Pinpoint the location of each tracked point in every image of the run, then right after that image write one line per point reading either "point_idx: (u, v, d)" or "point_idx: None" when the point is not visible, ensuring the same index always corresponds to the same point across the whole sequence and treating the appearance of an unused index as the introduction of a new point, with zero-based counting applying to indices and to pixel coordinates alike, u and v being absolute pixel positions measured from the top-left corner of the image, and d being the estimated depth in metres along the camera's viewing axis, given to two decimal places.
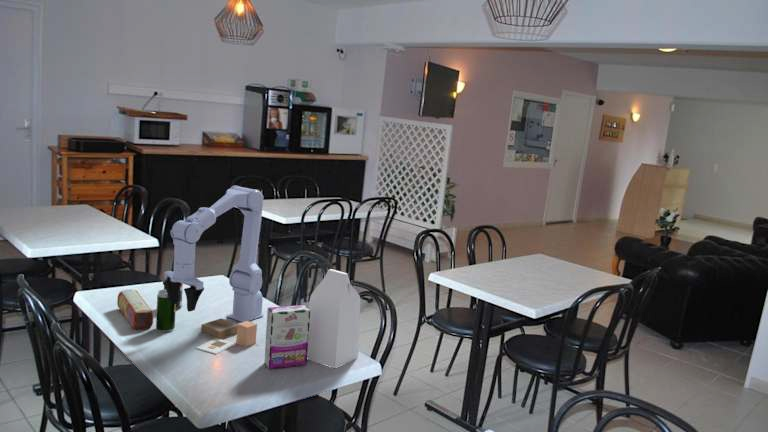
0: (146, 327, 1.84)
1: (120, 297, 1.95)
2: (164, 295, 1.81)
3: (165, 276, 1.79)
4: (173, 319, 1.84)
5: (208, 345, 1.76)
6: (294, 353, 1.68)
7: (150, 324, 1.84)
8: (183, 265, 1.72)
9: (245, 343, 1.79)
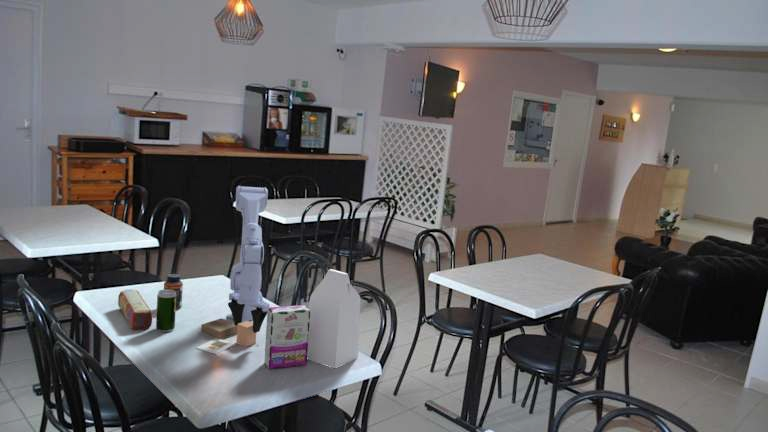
0: (145, 327, 1.84)
1: (120, 297, 1.95)
2: (164, 295, 1.81)
3: (229, 298, 1.82)
4: (173, 319, 1.84)
5: (208, 345, 1.76)
6: (294, 353, 1.68)
7: (149, 324, 1.84)
8: (250, 287, 1.76)
9: (245, 343, 1.79)
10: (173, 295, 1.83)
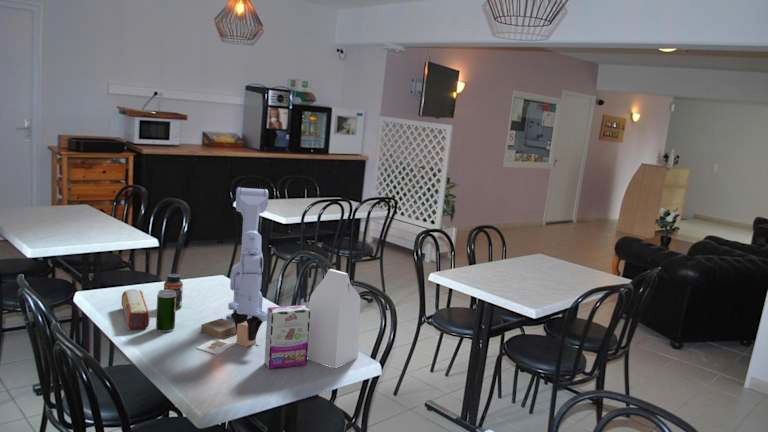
0: (141, 328, 1.83)
1: (123, 297, 1.96)
2: (164, 295, 1.81)
3: (229, 307, 1.83)
4: (173, 319, 1.84)
5: (208, 345, 1.76)
6: (294, 353, 1.68)
7: (145, 325, 1.83)
8: (249, 297, 1.76)
9: (245, 343, 1.79)
10: (173, 295, 1.83)
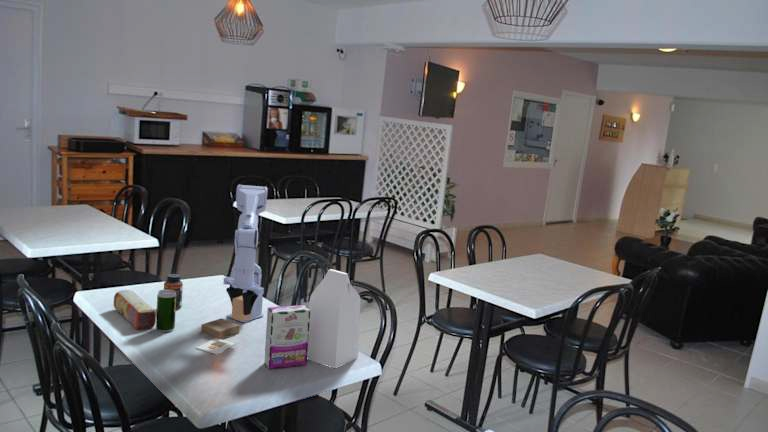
0: (149, 327, 1.84)
1: (117, 298, 1.94)
2: (164, 295, 1.81)
3: (224, 282, 1.83)
4: (173, 319, 1.84)
5: (208, 345, 1.76)
6: (294, 353, 1.68)
7: (153, 323, 1.85)
8: (244, 271, 1.77)
9: (240, 317, 1.79)
10: (173, 295, 1.83)
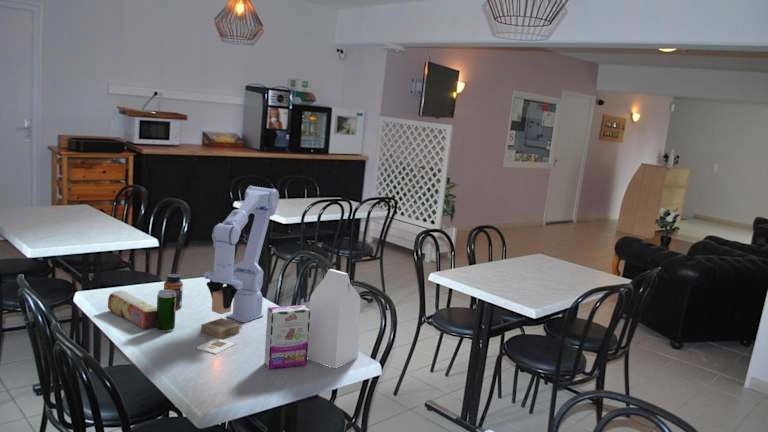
0: (155, 325, 1.86)
1: (113, 299, 1.93)
2: (164, 295, 1.81)
3: (205, 276, 1.87)
4: (173, 319, 1.84)
5: (208, 345, 1.76)
6: (294, 353, 1.68)
7: None
8: (224, 266, 1.81)
9: (220, 311, 1.83)
10: (173, 295, 1.83)
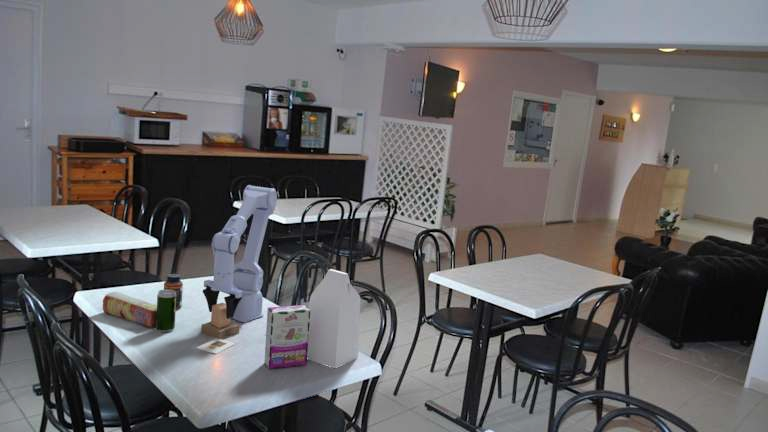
0: None
1: (109, 301, 1.91)
2: (164, 295, 1.81)
3: (204, 285, 1.88)
4: (173, 319, 1.84)
5: (208, 345, 1.76)
6: (294, 353, 1.68)
7: None
8: (223, 275, 1.81)
9: (218, 324, 1.84)
10: (173, 295, 1.83)
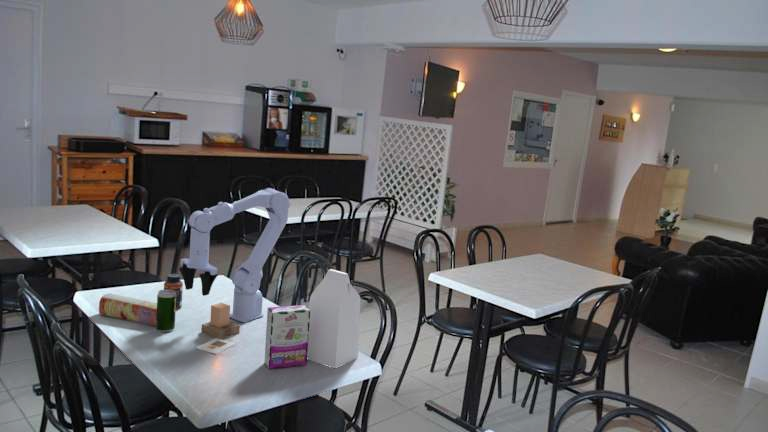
0: None
1: (107, 303, 1.89)
2: (164, 295, 1.81)
3: (181, 263, 1.92)
4: (173, 319, 1.84)
5: (208, 345, 1.76)
6: (294, 353, 1.68)
7: None
8: (198, 252, 1.86)
9: (218, 324, 1.85)
10: (173, 295, 1.83)
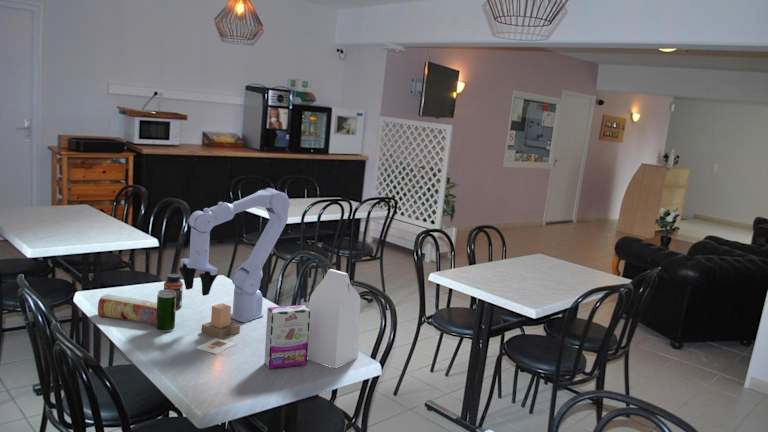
0: None
1: (106, 303, 1.88)
2: (164, 295, 1.81)
3: (181, 263, 1.92)
4: (173, 319, 1.84)
5: (208, 345, 1.76)
6: (294, 353, 1.68)
7: None
8: (198, 252, 1.86)
9: (219, 324, 1.84)
10: (173, 295, 1.83)
